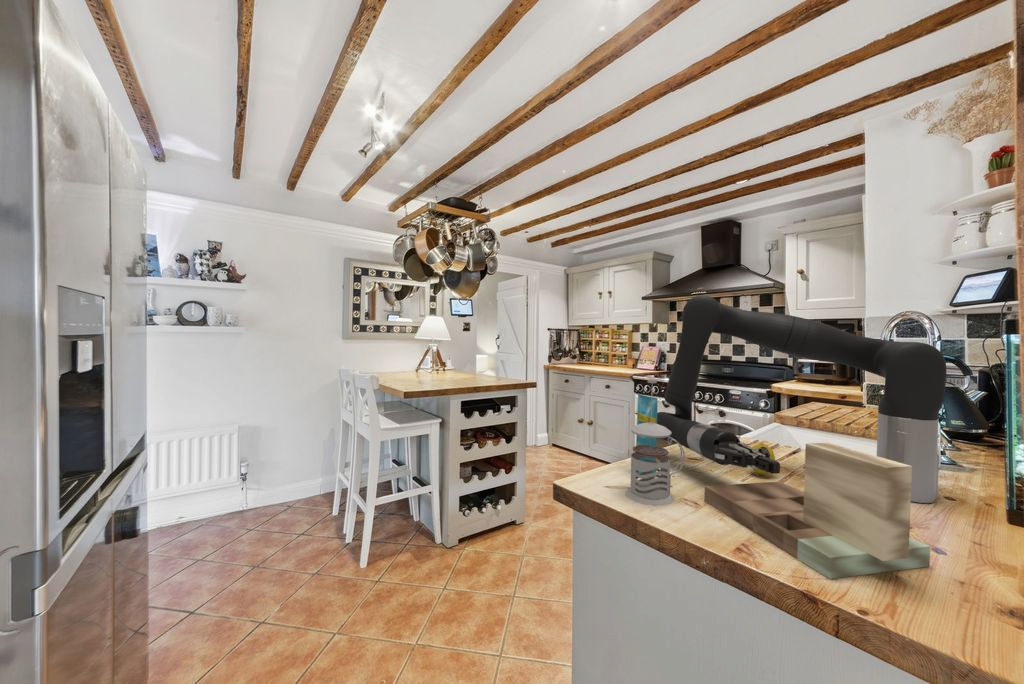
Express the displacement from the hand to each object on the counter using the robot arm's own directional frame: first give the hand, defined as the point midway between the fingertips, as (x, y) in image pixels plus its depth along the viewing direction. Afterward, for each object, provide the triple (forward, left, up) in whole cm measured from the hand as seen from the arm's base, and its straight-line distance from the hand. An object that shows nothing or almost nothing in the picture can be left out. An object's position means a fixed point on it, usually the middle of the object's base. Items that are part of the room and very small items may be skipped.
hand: (776, 468), depth 74 cm
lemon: (-15, -19, -9) cm, 26 cm away
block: (0, +14, -6) cm, 15 cm away
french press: (+18, -12, -9) cm, 24 cm away
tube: (+13, -24, -9) cm, 29 cm away
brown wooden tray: (0, +5, -9) cm, 10 cm away
